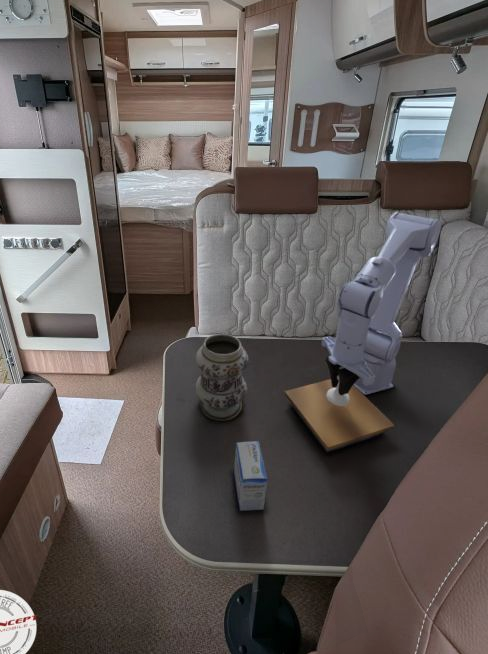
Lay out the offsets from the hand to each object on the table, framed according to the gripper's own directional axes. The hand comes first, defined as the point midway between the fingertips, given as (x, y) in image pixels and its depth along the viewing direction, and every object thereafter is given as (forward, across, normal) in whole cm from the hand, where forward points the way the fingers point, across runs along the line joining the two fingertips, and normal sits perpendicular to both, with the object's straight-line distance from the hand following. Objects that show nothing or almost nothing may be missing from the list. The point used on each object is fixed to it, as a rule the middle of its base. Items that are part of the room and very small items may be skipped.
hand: (339, 389), depth 80 cm
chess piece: (+3, 0, 0) cm, 3 cm away
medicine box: (+9, +9, -26) cm, 29 cm away
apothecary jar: (+9, -13, -23) cm, 28 cm away
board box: (+9, 0, 0) cm, 9 cm away
